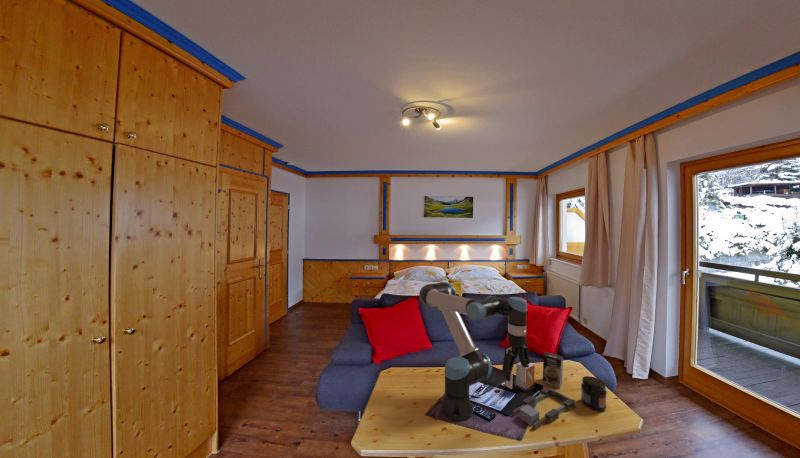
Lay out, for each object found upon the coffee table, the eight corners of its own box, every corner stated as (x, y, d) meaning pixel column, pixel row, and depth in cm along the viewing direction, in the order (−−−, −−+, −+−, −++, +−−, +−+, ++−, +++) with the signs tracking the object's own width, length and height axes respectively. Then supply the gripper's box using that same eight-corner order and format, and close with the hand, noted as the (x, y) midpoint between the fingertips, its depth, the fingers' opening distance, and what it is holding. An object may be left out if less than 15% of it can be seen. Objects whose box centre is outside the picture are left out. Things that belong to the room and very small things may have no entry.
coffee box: (542, 382, 158) (542, 354, 157) (545, 378, 162) (545, 351, 162) (560, 389, 152) (560, 360, 151) (562, 384, 156) (563, 356, 156)
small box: (525, 392, 148) (526, 368, 148) (515, 386, 153) (515, 363, 153) (534, 387, 152) (535, 364, 152) (523, 382, 158) (524, 359, 158)
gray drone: (509, 413, 131) (509, 407, 131) (547, 392, 149) (547, 386, 148) (537, 432, 120) (537, 425, 119) (574, 406, 137) (574, 400, 137)
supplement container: (611, 409, 135) (612, 385, 135) (595, 413, 132) (596, 388, 132) (590, 396, 145) (591, 374, 145) (575, 400, 142) (576, 377, 142)
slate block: (519, 418, 128) (519, 408, 128) (527, 413, 131) (527, 404, 131) (531, 426, 123) (531, 416, 123) (539, 421, 126) (539, 411, 126)
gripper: (508, 341, 112) (507, 396, 113) (539, 331, 124) (538, 380, 125) (493, 335, 119) (492, 387, 119) (523, 326, 131) (522, 373, 131)
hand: (515, 383), depth 122 cm, fingers open, 9 cm apart
